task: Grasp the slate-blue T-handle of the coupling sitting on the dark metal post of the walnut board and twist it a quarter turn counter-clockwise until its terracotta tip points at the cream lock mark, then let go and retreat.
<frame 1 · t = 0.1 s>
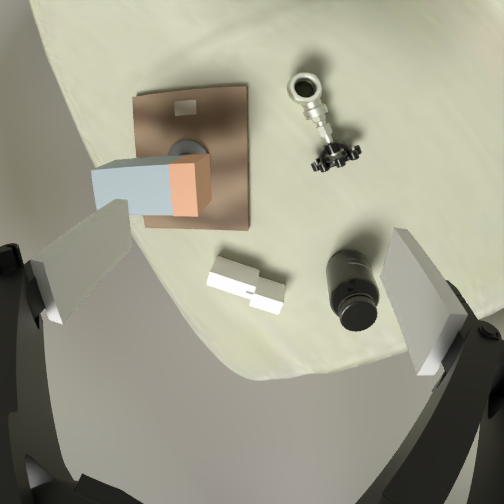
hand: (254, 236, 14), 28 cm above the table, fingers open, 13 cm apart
napkin holder: (251, 277, 49), on the table
valve: (316, 116, 37), on the table
board: (191, 159, 41), on the table
supplement bottle: (346, 267, 46), on the table
coupling: (154, 182, 30), point 13 cm above the table, hinge at 0.0°
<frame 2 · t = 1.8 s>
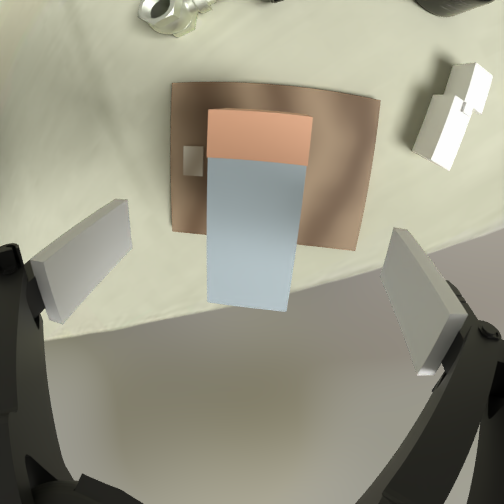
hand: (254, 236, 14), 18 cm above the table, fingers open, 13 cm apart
napkin holder: (444, 110, 25), on the table
valve: (216, 6, 23), on the table
board: (269, 163, 30), on the table
coupling: (258, 201, 19), point 13 cm above the table, hinge at 0.0°
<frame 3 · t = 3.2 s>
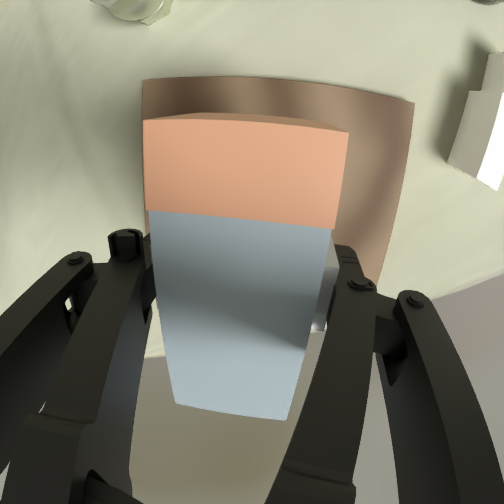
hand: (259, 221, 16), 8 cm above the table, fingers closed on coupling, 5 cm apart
napkin holder: (482, 110, 18), on the table
board: (269, 183, 23), on the table
coupling: (246, 264, 12), point 13 cm above the table, hinge at 0.0°, touching gripper
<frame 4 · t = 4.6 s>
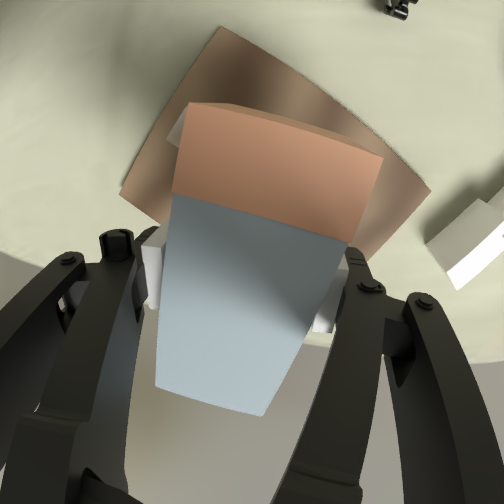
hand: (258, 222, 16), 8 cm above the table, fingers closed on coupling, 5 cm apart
napkin holder: (478, 218, 23), on the table
board: (271, 182, 23), on the table
coupling: (248, 260, 12), point 13 cm above the table, hinge at 21.2°, touching gripper
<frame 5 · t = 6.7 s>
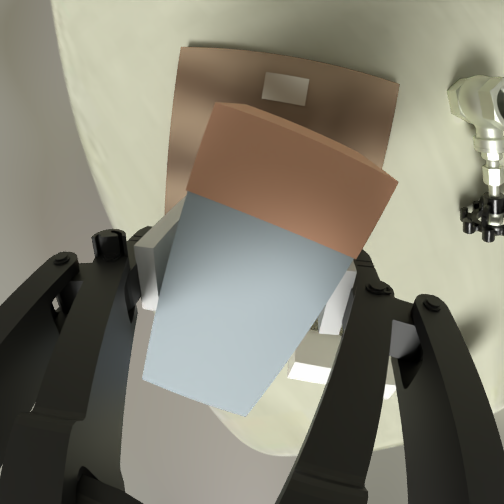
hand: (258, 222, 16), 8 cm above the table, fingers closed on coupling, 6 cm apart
napkin holder: (342, 348, 31), on the table
valve: (469, 145, 20), on the table
board: (269, 184, 23), on the table
coupling: (247, 262, 12), point 13 cm above the table, hinge at 77.6°, touching gripper
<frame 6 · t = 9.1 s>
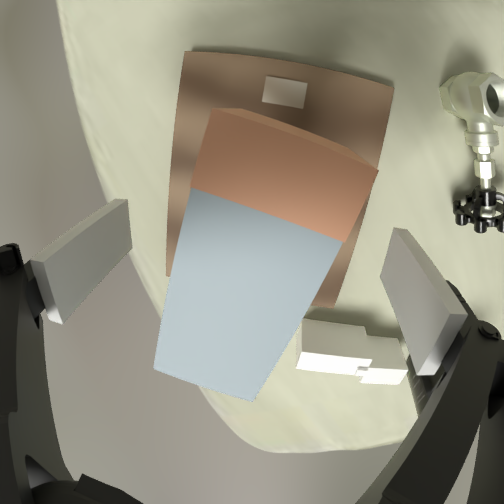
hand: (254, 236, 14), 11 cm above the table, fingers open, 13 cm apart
napkin holder: (350, 337, 31), on the table
valve: (462, 140, 20), on the table
board: (269, 183, 24), on the table
supplement bottle: (428, 356, 31), on the table
coupling: (249, 254, 13), point 13 cm above the table, hinge at 80.4°
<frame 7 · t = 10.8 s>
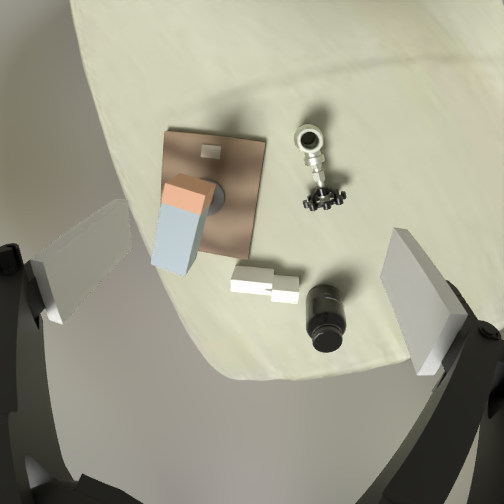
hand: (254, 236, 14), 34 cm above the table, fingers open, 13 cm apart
napkin holder: (269, 277, 56), on the table
valve: (314, 160, 45), on the table
board: (208, 194, 50), on the table
supplement bottle: (323, 298, 56), on the table
coupling: (183, 222, 38), point 13 cm above the table, hinge at 80.4°
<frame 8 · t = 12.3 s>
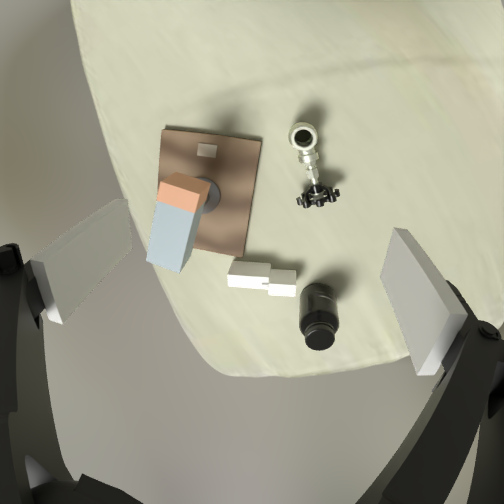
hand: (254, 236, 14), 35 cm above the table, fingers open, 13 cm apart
napkin holder: (266, 272, 56), on the table
valve: (308, 158, 46), on the table
board: (204, 192, 50), on the table
supplement bottle: (317, 296, 57), on the table
coupling: (178, 220, 39), point 13 cm above the table, hinge at 80.4°
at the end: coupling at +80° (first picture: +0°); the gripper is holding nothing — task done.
